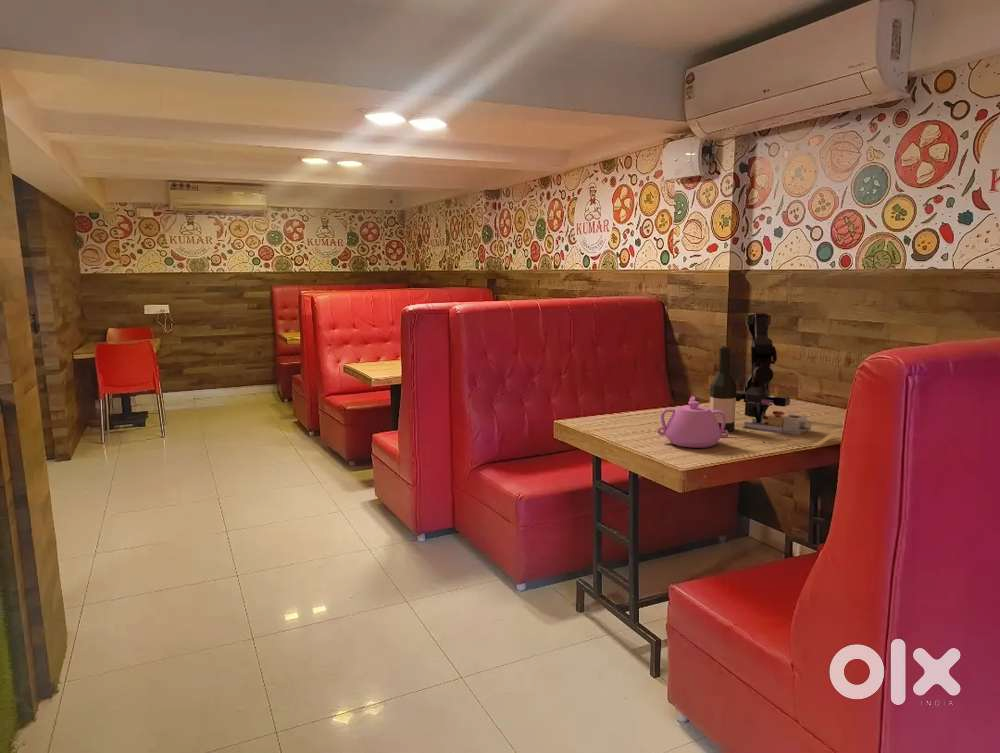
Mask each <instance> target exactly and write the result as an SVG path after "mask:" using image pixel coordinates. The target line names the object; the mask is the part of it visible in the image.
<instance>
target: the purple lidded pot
mask: <svg viewBox="0 0 1000 753" xmlns="http://www.w3.org/2000/svg"><path fill="white" fill-rule="evenodd" d="M666 413H672V414H671V416H670V417H669V419H668V421H667V422H666V420H665V414H666ZM714 414H721V415H722V416H723V422H722V425H721V428H720V427H719V424H718V422H717V420H716V418H715V416H714ZM726 419H727V418H726V415H725V413H724V412H722V411H720V410H714V411H711V410H710V407H706V406H700V402H699V401H696V397H695V396H694V395H691V396H690V397H689V401H688V405H680V406H678V407H676V409H673V408H666V409H664V410H663V411H661V414H660V421H661V425H662V426H659V427H658V428H657V435H659V436H665V437H666V439H668V441H669V442H670V443H671V444H672V445H676V446H678V447H680V448H681V447H683V448H685V447H686V448H700V449H701V448H703V449H706V448H709V447H713V446H715V445H716V444H717V443H718V441H720V439H723V440H724V439H726V438H728V437H729V433H730V432H728V431H727V430H724V427H725V424H726ZM661 430H663V432H662V431H661ZM724 433H725V434H724Z"/></svg>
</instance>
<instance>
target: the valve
mask: <svg viewBox="0 0 1000 753" xmlns="http://www.w3.org/2000/svg"><path fill="white" fill-rule="evenodd" d="M783 417H788V415H785V412H784V411H782V410H781V411H780V410H773V411H772V414H771V415H769V416H768V417H766V416H765V417H763V418H762V420H763V424H764V425H771V426H779V427H783Z"/></svg>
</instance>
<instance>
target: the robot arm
mask: <svg viewBox="0 0 1000 753" xmlns="http://www.w3.org/2000/svg"><path fill="white" fill-rule="evenodd" d="M745 326H746V327H747V332H748V334H749V335H750V338H751V346H750V376H749V378H748V379H747V381H746V382H745V386H744V388H743V391H742V390H741V391H740V390H736V402H741V400H742V401H743V403H744V404H745V407H744V416H747V417H749V418H750V417H751V418H754V419H756V421H757V423H760V422H761V420H763V418H764V417H766V414H767V410H768V408H769V407H771V406H773V405H774V406H776V407H788V406H789V405H791V398H790V396H788V395H780V394H779V395H776V396H774V397H773V396H771V391H770V385H771V383H772V382H771V381H772V380H773V378H774V371H773V370H772V367H771V365H776V362H777V359H778V354H777V349H776V347H775V346H774V344H773V340H772V339H771V338H770V337H769V334H768V332H769V327H771V326H772V315H770V314H768V313H766V312H755V313H750V314H748V315H746V319H745Z"/></svg>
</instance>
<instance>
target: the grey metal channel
mask: <svg viewBox="0 0 1000 753" xmlns="http://www.w3.org/2000/svg"><path fill="white" fill-rule="evenodd" d="M743 425H744V426H742V427H741V428H740V429H746V430H752V431H759V432H760V431H761V432H767V433H775V434H780V435H781V434H782V435H789V436H797V437H798V436H800V435H802V434H804V433H805V432H807V431H811V429H812V423H811V422H808V416H807V415H799V414H790V413H789V414H788V415H787V417H783V427H779V426H771V425H764V424H763V419H762V420H761V422H760V423H757V421H756V418H752V419H751V422H748V421H745V422H744V424H743Z"/></svg>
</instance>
